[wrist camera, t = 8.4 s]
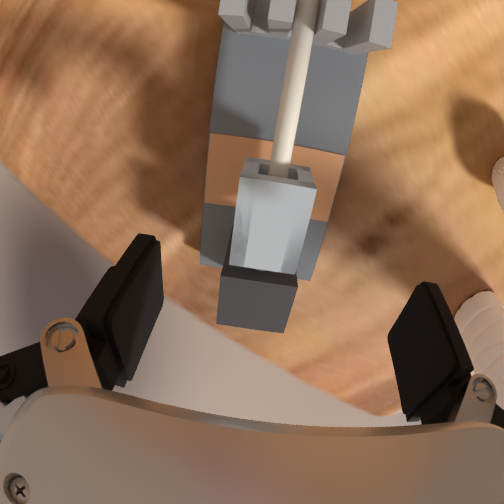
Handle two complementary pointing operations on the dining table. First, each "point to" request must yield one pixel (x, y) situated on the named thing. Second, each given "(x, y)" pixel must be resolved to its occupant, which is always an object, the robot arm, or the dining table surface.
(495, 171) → the white rounded ridged piece
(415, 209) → the dining table surface
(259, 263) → the sleeve
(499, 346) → the water bottle
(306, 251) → the board
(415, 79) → the dining table surface
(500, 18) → the dining table surface
